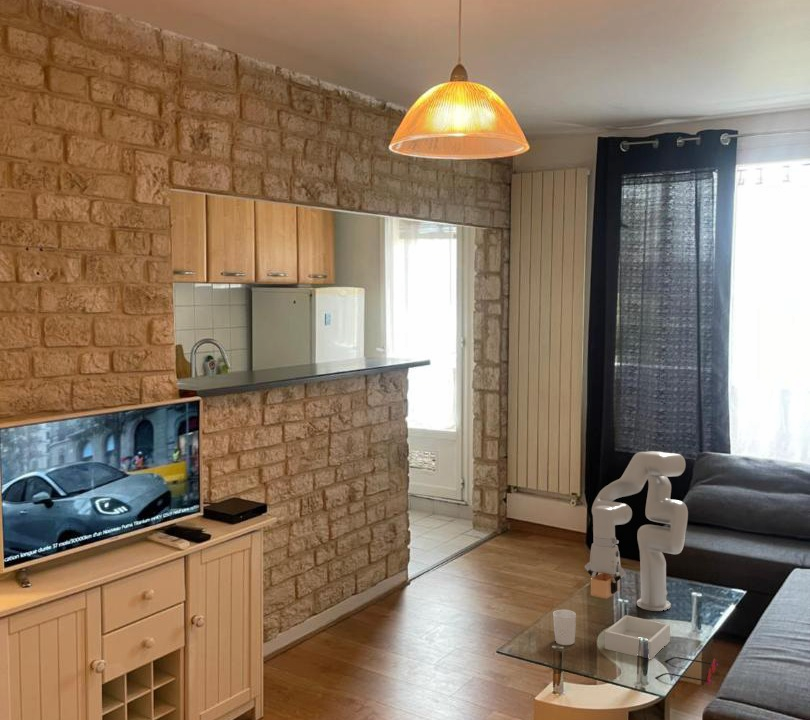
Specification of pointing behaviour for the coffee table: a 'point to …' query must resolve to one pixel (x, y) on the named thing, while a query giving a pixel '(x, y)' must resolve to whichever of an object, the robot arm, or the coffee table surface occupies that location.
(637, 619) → the box
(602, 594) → the orange crate
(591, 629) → the coffee table surface
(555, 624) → the white cup
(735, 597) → the coffee table surface
